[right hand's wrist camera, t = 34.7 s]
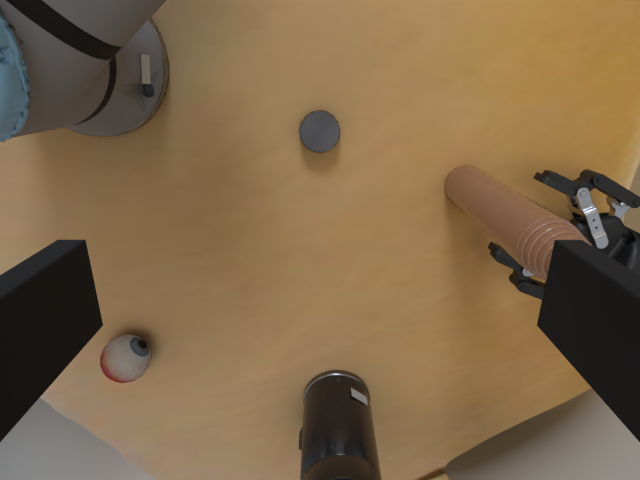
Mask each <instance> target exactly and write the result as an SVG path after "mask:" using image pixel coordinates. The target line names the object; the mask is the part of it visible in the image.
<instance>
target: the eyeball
mask: <svg viewBox="0 0 640 480" xmlns="http://www.w3.org/2000/svg"><path fill="white" fill-rule="evenodd" d="M150 362H151V351H150V348H149V346H148V344H147V343H146V342H145V341H144V340H143V339H142V338H140V337H138V336H135V335H121V336H119V337H116V338H114V339H112V340H111V341H110V342H109V343H108V344H107V345H106V346H105V348H104V349H103V351H102V354H101V357H100V365H101V368H102V371H103V373H104V374H105V375H106V376H107V377H108V378H109V379H111V380H113V381H115V382H120V383H126V382H131V381H134V380H136V379H137V378H139V377H141V376H142V375H143V374H144V373H145V372H146V370H147V369H148V367H149V365H150Z"/></svg>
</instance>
